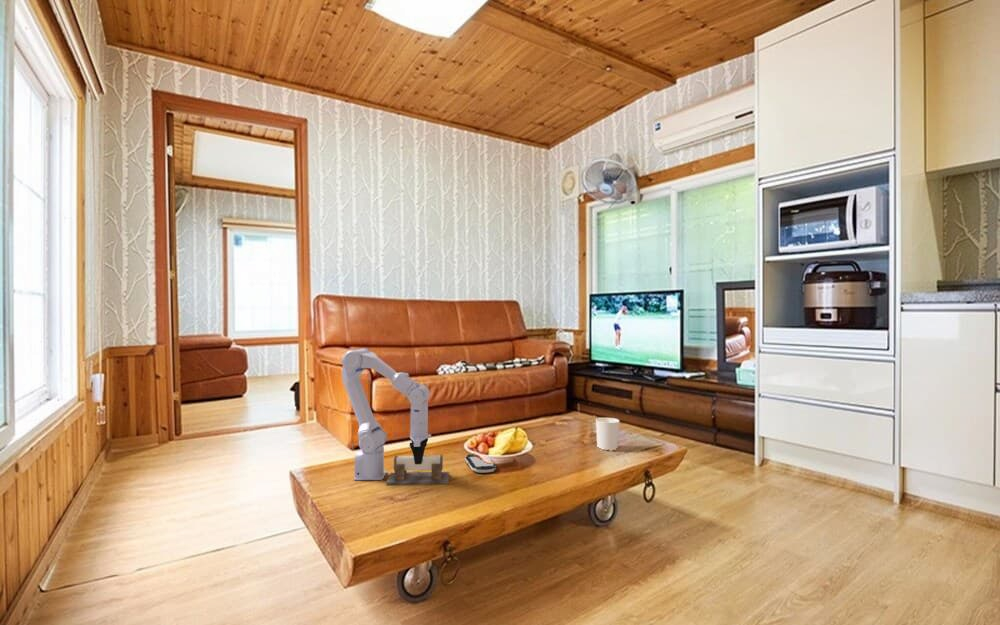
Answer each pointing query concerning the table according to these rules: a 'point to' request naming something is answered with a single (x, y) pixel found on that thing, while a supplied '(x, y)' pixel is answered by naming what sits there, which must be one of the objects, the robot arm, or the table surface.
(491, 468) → the gaming console
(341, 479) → the table surface
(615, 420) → the white cylinder
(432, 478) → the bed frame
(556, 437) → the table surface
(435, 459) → the rail
